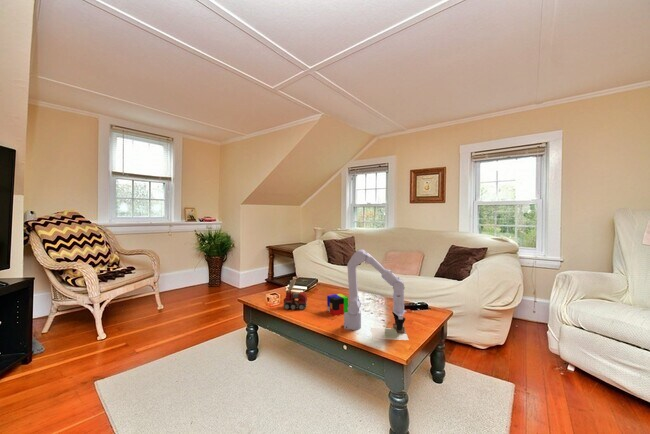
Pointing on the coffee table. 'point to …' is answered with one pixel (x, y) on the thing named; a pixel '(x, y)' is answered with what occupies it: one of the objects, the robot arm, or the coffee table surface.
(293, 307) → the toy fire truck
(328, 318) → the coffee table surface
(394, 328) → the walnut brick
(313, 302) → the coffee table surface
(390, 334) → the sage brick
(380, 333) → the board
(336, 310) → the puzzle toy
